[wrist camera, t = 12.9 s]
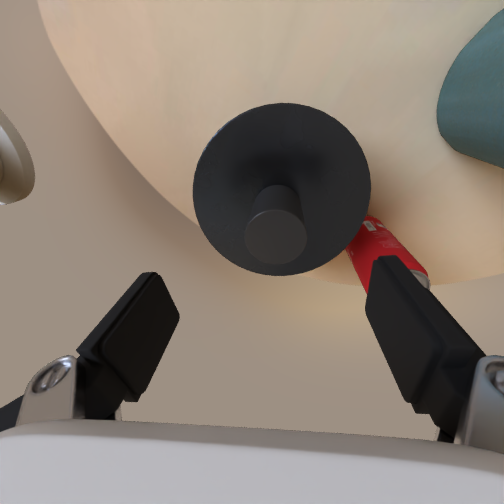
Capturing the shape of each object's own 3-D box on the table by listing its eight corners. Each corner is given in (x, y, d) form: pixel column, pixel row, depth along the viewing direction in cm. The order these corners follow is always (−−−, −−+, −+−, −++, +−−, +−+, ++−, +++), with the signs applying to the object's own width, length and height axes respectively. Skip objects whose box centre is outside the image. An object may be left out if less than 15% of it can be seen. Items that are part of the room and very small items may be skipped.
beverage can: (386, 234, 29) (441, 297, 19) (349, 252, 31) (381, 318, 21) (370, 205, 27) (422, 257, 17) (332, 226, 29) (358, 284, 19)
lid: (183, 238, 23) (150, 279, 17) (223, 65, 15) (186, 34, 9) (309, 287, 24) (318, 339, 18) (408, 153, 16) (476, 174, 10)
